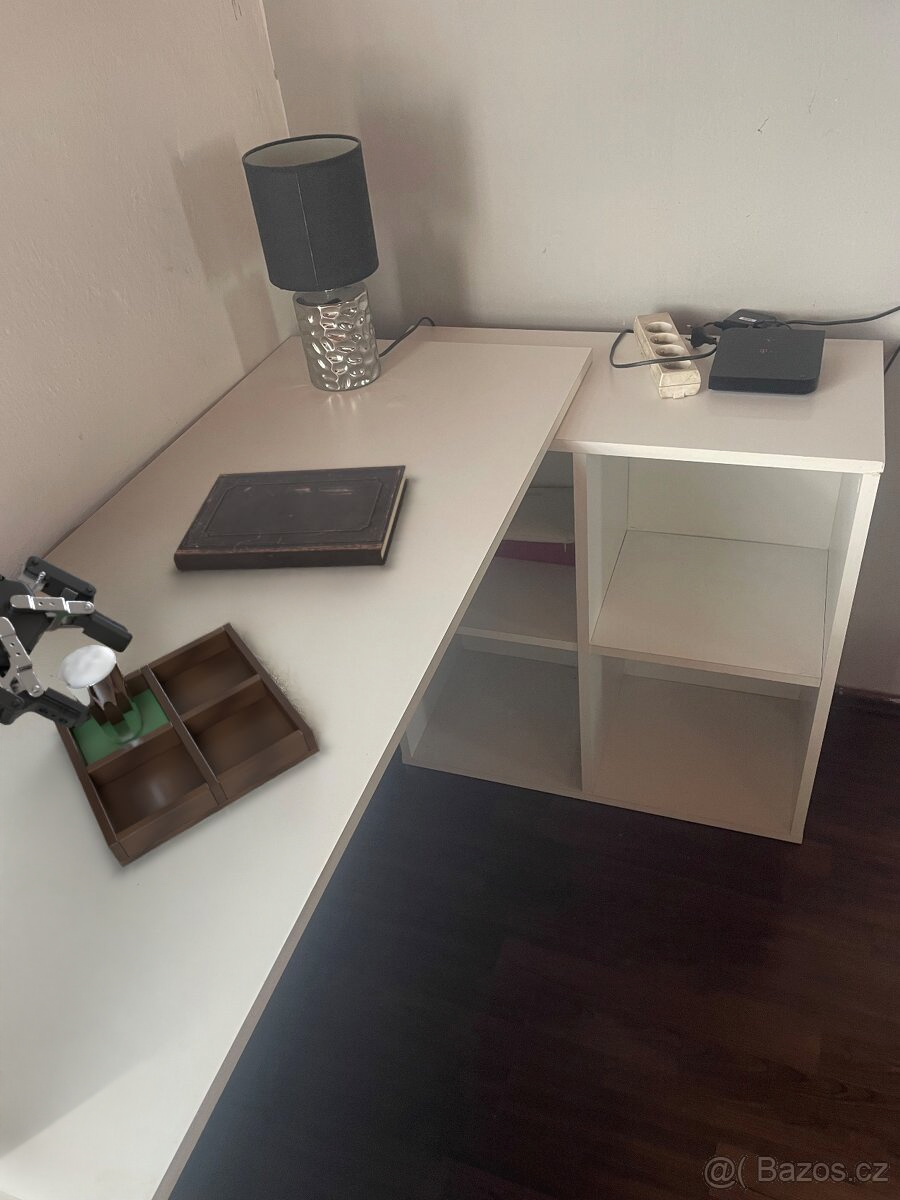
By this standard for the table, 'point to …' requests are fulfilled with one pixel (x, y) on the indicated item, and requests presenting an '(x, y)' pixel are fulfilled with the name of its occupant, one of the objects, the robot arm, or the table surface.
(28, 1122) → the table surface
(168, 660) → the grid
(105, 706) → the milkshake
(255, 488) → the hardcover book
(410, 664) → the table surface
